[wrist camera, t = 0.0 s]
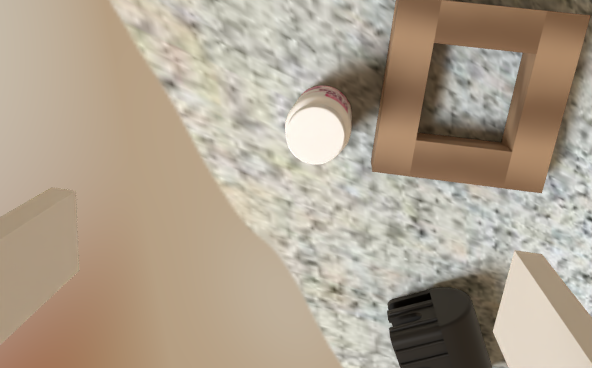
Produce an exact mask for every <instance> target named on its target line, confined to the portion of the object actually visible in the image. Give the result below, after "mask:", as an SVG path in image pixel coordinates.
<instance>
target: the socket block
mask: <svg viewBox="0 0 592 368" xmlns="http://www.w3.org/2000/svg"><path fill="white" fill-rule="evenodd" d="M590 16H591V15H582V14H572V13H562V12H553V11H543V10H533V9H524V8H514V7H505V6H495V5H485V4H476V3H466V2H456V1H447V0H396V3H395V10H394V16H393V23H392V29H391V35H390V42H389V48H388V55H387V61H386V68H385V74H384V80H383V87H382V93H381V100H380V106H379V113H378V119H377V126H376V132H375V138H374V145H373V151H372V158H371V165H372V172H380V173H388V174H395V175H403V176H411V177H419V178H427V179H435V180H443V181H450V182H458V183H466V184H474V185H482V186H490V187H497V188H505V189H513V190H521V191H529V192H537V193H542V190H543V187H544V183H545V180H546V176H547V172H548V169H549V165H550V161H551V158H552V154H553V150H554V147H555V143H556V140H557V136H558V132H559V129H560V125H561V121H562V118H563V114H564V111H565V107H566V103H567V100H568V96H569V92H570V89H571V85H572V81H573V78H574V74H575V71H576V67H577V63H578V60H579V56H580V52H581V49H582V45H583V42H584V38H585V34H586V31H587V27H588V23H589V20H590ZM434 43H440V44H449V45H458V46H467V47H476V48H485V49H495V50H504V51H513V52H522V53H523V54H522V58H521V62H520V67H519V71H518V75H517V79H516V83H515V87H514V92H513V96H512V100H511V104H510V108H509V113H508V117H507V121H506V125H505V129H504V133H503V138H502V142H493V141H484V140H476V139H468V138H460V137H451V136H443V135H435V134H427V133H418V127H419V121H420V116H421V110H422V105H423V99H424V94H425V88H426V83H427V77H428V72H429V66H430V61H431V56H432V50H433V45H434Z"/></svg>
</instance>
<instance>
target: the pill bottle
mask: <svg viewBox="0 0 592 368" xmlns="http://www.w3.org/2000/svg"><path fill="white" fill-rule="evenodd" d="M351 122H352V111H351V107H350V104H349V101H348V100H347V98H346V97H345V96H344V94H343V93H342V92H340V91H339V90H337V89H335V88H333V87H330V86H315V87H312V88H310V89H308V90H306V91H305V92H304V93H303V94H302V95H301V96H300V97H299V98H298V100H297V101H296V103H295V104H294V106H293V107H292V109H291V110H290V112H289V114H288V116H287V119H286V123H285V133H286V141H287V144H288V147H289V149H290V151H291V152H292V153H293V154H294V156H295V157H297V158H298V159H299V160H301V161H303V162H305V163H308V164H323V163H326V162H329V161H331V160H332V159H334V158H335V157H336V156H337V155H338V154H339V153H340V152H341V151H342V150H343V149H344V148H345V146H346V145H347V143H348V141H349V138H350V134H351Z"/></svg>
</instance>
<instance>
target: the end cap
mask: <svg viewBox="0 0 592 368" xmlns="http://www.w3.org/2000/svg"><path fill="white" fill-rule="evenodd" d="M387 314H388V320H389V323H392V325H393V327H390V328H389V331H390V338H391V342H392V346H393V348H394V351H395V354H396V357H397V359H398V362H399V365H400V368H492V365H491V362H490V359H489V356H488V352H487V349H486V346H485V343H484V339H483V336H482V333H481V330H480V326H479V323H478V320H477V316H476V313H475V310H474V307H473V303H472V300H471V299H470V297H469V296H468V295H467V294H466V293H465V292H463V291H461V290H458V289H455V288H448V287H441V288H433V289H429V290H426V291H422V292H418V293H414V294H411V295H407V296H403V297H399V298H395V299H392V300H390V301H389V302H388V311H387Z"/></svg>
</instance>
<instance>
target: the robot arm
mask: <svg viewBox="0 0 592 368" xmlns="http://www.w3.org/2000/svg"><path fill="white" fill-rule="evenodd" d="M78 271H79V255H78V231H77V207H76V191H74V190H67V189H60V188H50V189H48V190H46V191H45V192H43V193H42V194H39V195H38V196H36V197H34V198H33V199H31V200H29V201H27V202H26V203H24V204H22V205H20V206H19V207H17V208H15V209H13V210H12V211H10V212H8V213H7V214H5V215H3V216H1V217H0V345H1V344H2V343H3V342H4V341H5V340H6V339H7V338H8V337H9V336H10V335H11V334H12V333H13V332H14V331H16V330H17V329H18V328H19V327H20V326H21V325H22V324H23V323H24V322H25V321H26V320H27V319H28V318H29V317H31V315H33V314H34V313H35V312H36V311H37V310H38V309H39V308H40V307H41V306H42V305H43V304H44V303H45V302H46V301H48V300H49V299H50V298H51V297H52V296H53V295H54V294H55V293H56V292H57V291H58V290H59V289H60V288H61V287H62V286H64V285H65V284H66V283H67V282H68V281H69V280H70V279H71V278H72V277H73V276H74V275H75V274H76V273H77V272H78ZM493 333H494V336H495V338H496V340H497V342H498V345H499V347H500V349H501V351H502V354H503V356H504V358H505V361H506V363H507V365H508V367H509V368H592V317H591V316H590V315H589V314H588V312H587V311H586V310H585V309H584V307H583V306H582V305H581V303H580V302H579V301H578V300H577V298H576V297H575V296H574V295H573V293H572V292H571V291H570V289H569V288H568V287H567V286H566V284H565V283H564V282H563V281H562V279H561V278H560V277H559V275H558V274H557V273H556V272H555V270H554V269H553V268H552V267H551V265H550V264H549V263H548V261H547V260H546V259H545V258H544V256H543V255H542V254H537V253H530V252H522V251H514V254H513V258H512V262H511V266H510V269H509V273H508V277H507V281H506V284H505V288H504V292H503V295H502V299H501V303H500V307H499V310H498V314H497V318H496V321H495V325H494V329H493Z"/></svg>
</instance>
